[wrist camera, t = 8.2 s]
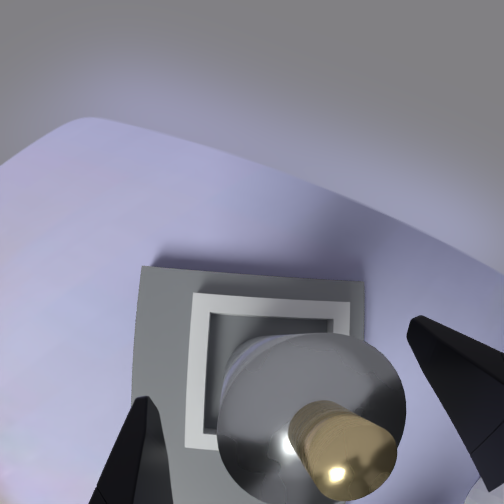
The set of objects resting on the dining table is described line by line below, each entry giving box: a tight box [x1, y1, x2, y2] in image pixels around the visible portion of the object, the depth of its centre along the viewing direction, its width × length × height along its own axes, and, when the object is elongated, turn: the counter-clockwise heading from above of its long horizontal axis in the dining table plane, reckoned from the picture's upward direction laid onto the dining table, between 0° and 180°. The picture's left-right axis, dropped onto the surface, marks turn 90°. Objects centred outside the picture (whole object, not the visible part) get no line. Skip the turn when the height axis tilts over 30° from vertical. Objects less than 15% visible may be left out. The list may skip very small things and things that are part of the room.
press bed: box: [131, 266, 364, 504], centre depth 16 cm, size 20×14×3 cm
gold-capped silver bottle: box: [217, 333, 406, 504], centre depth 11 cm, size 5×5×14 cm
